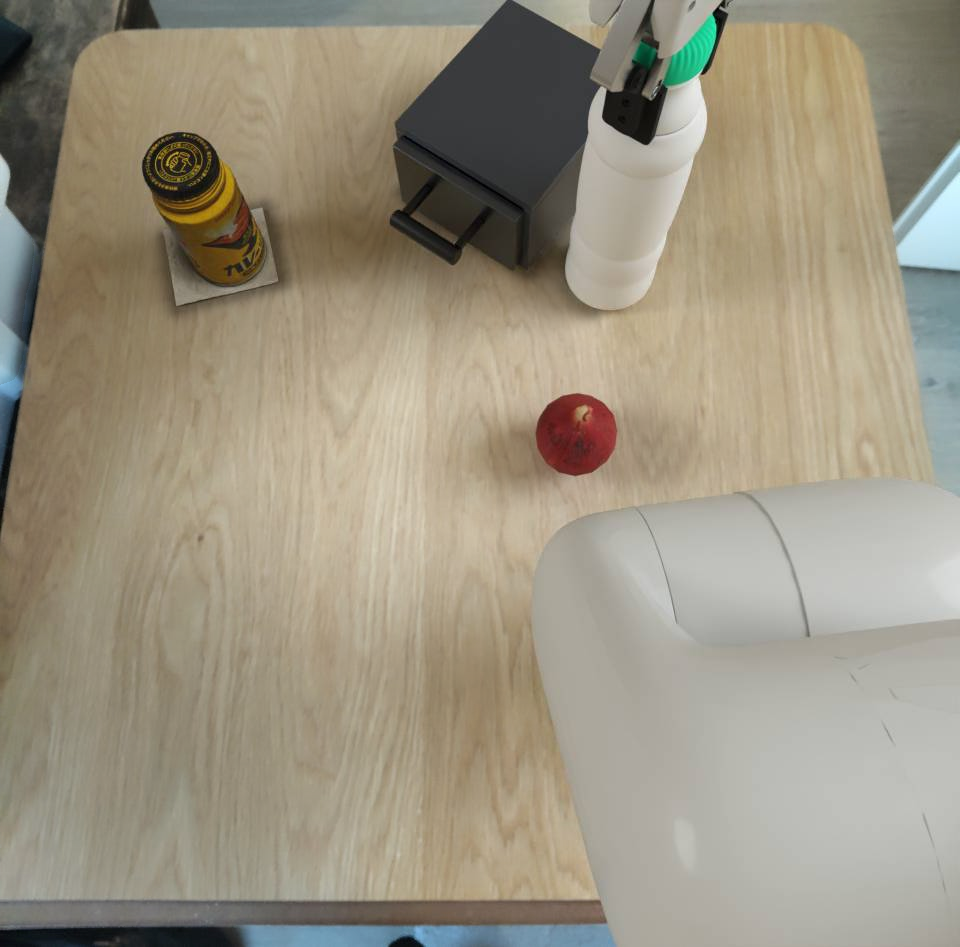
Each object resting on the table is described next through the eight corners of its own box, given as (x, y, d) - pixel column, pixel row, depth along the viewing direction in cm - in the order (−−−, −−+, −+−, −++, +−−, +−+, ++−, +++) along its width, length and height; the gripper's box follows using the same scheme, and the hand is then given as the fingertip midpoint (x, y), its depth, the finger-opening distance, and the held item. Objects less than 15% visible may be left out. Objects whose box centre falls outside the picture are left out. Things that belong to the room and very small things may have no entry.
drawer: (481, 310, 64) (480, 264, 57) (369, 237, 66) (356, 185, 59) (606, 157, 68) (618, 98, 61) (497, 93, 70) (497, 29, 63)
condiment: (279, 282, 66) (234, 190, 54) (177, 307, 65) (109, 219, 54) (263, 208, 68) (216, 105, 56) (164, 232, 67) (96, 132, 56)
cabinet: (527, 271, 66) (532, 207, 57) (406, 194, 68) (394, 122, 60) (625, 149, 69) (643, 72, 61) (506, 80, 71) (508, -3, 63)
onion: (602, 494, 60) (618, 461, 52) (527, 479, 60) (532, 444, 53) (614, 422, 62) (631, 380, 54) (540, 409, 62) (547, 365, 54)
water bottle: (546, 277, 65) (576, 21, 41) (602, 221, 66) (663, -58, 42) (613, 330, 63) (684, 97, 40) (669, 272, 65) (771, 12, 41)
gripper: (782, -440, 31) (679, -27, 49) (530, -185, 28) (516, 165, 45) (958, -370, 30) (787, 29, 47) (718, -91, 26) (628, 233, 43)
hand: (656, 93), depth 46 cm, fingers closed on water bottle, 5 cm apart
